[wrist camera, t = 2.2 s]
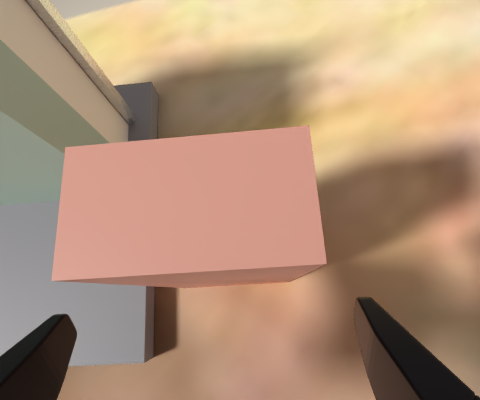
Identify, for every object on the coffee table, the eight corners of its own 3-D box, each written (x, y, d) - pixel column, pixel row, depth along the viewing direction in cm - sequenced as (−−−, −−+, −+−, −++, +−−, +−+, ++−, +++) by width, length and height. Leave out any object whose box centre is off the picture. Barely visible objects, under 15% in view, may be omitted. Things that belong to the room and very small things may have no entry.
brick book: (289, 281, 20) (326, 263, 7) (184, 288, 20) (51, 281, 8) (284, 225, 21) (309, 125, 8) (184, 232, 21) (65, 147, 9)
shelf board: (153, 357, 19) (144, 363, 18) (-37, 366, 20) (-61, 371, 18) (158, 94, 24) (151, 82, 23) (6, 109, 25) (-10, 98, 24)
